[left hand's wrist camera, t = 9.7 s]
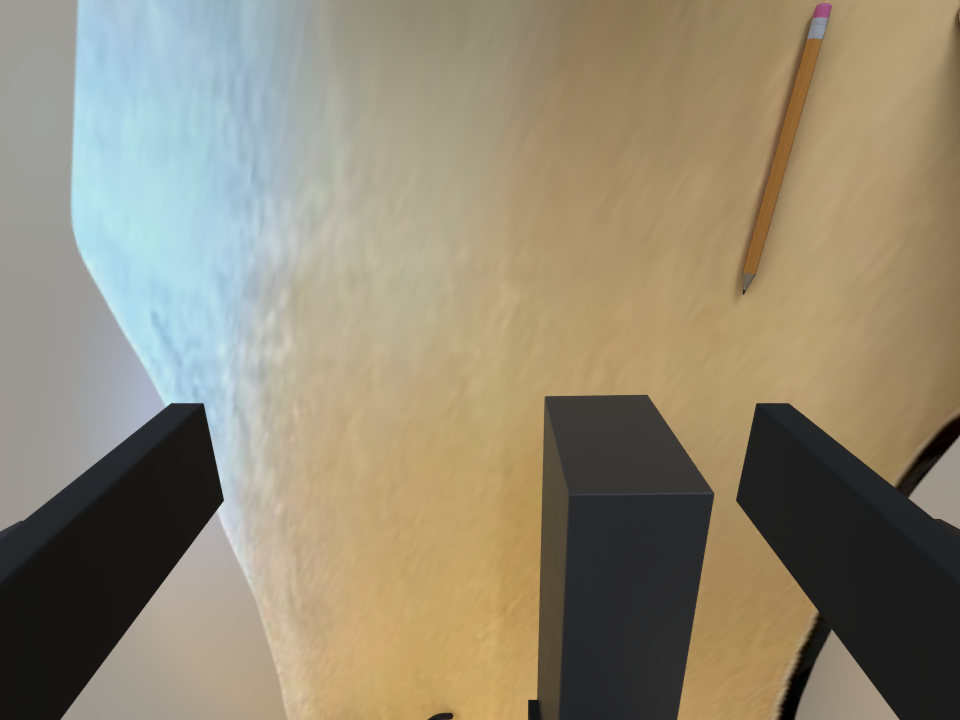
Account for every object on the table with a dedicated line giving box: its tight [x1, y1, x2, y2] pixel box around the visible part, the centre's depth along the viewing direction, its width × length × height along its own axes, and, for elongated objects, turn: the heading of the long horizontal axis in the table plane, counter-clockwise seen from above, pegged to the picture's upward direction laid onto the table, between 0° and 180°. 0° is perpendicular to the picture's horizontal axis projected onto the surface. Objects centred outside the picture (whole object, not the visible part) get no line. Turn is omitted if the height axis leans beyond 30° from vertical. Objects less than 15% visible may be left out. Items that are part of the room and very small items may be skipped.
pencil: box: [743, 3, 832, 295], centre depth 37 cm, size 1×1×19 cm
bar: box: [537, 395, 714, 720], centre depth 31 cm, size 29×6×10 cm, turn 1°
